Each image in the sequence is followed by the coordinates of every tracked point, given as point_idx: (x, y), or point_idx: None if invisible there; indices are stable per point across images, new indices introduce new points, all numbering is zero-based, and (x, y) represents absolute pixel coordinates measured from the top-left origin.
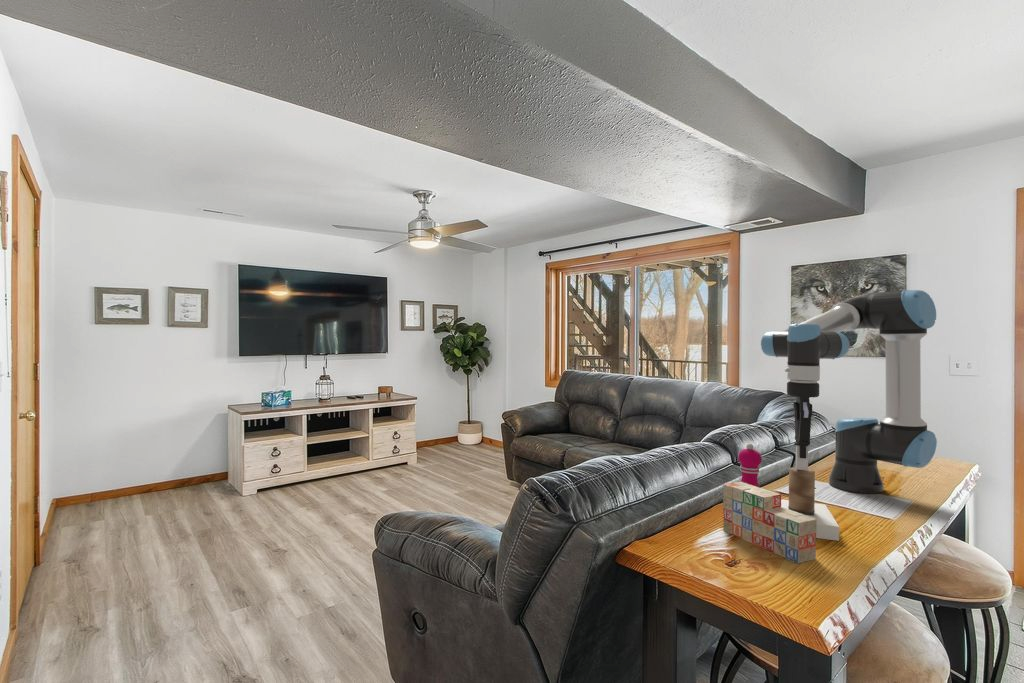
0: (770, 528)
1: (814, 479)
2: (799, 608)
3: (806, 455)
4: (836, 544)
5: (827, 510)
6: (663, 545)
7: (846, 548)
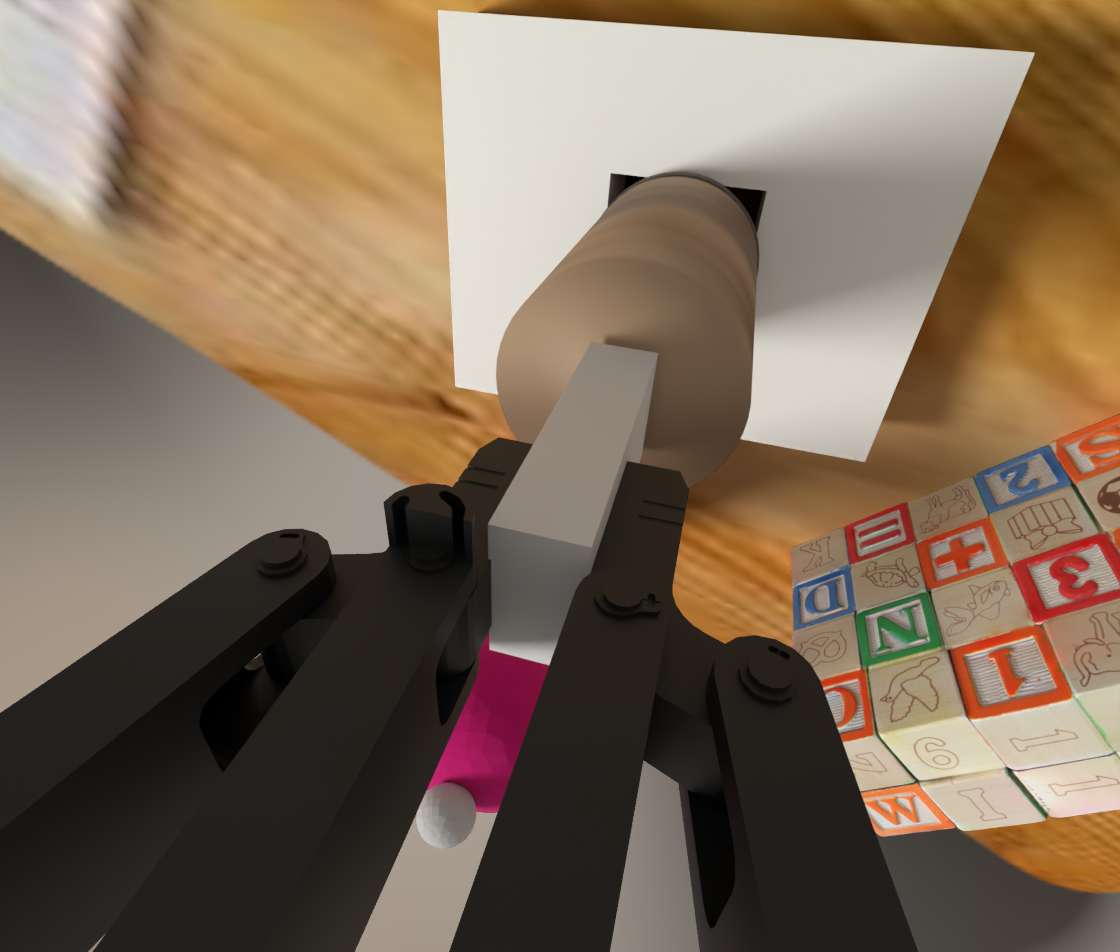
0: None
1: (693, 258)
2: None
3: (623, 470)
4: (1071, 93)
5: (598, 35)
6: (1046, 821)
7: None
